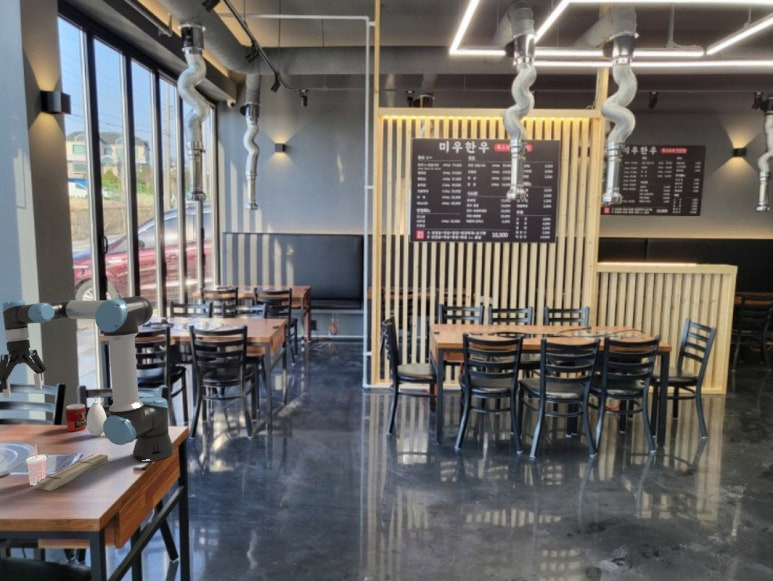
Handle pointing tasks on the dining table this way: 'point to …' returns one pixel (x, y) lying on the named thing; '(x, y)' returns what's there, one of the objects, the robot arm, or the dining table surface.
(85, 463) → the maple strip
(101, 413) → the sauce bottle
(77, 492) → the dining table surface
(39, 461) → the beverage cup
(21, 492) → the dining table surface
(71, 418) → the canned food
